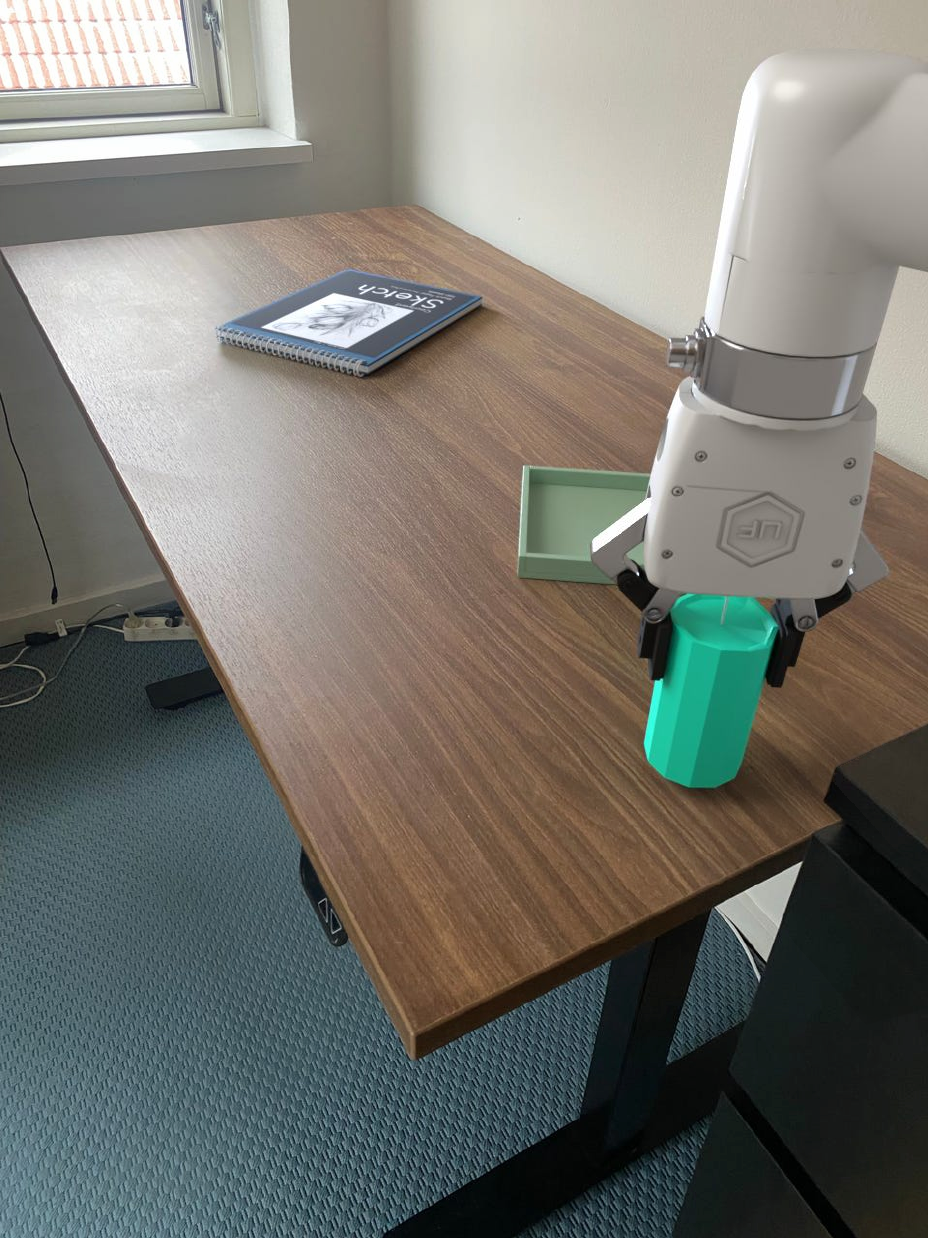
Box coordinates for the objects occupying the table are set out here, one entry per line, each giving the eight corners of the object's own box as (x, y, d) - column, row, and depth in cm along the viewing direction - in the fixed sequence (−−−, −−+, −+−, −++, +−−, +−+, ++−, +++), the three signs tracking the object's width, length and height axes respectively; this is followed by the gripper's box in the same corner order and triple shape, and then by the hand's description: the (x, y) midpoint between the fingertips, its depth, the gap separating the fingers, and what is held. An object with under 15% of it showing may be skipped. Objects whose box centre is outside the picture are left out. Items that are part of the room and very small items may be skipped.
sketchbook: (482, 306, 125) (483, 290, 124) (363, 382, 104) (363, 364, 103) (347, 277, 133) (347, 262, 131) (211, 342, 111) (209, 325, 110)
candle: (669, 797, 54) (703, 636, 47) (628, 728, 59) (653, 572, 52) (760, 778, 56) (807, 619, 48) (713, 712, 60) (749, 558, 53)
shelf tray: (707, 497, 85) (712, 477, 84) (733, 593, 73) (738, 571, 72) (521, 485, 86) (523, 464, 85) (517, 577, 74) (518, 555, 73)
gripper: (594, 392, 40) (562, 703, 51) (1005, 409, 39) (883, 722, 50) (588, 330, 46) (560, 621, 57) (945, 344, 45) (847, 636, 56)
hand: (712, 666), depth 53 cm, fingers closed on candle, 5 cm apart
